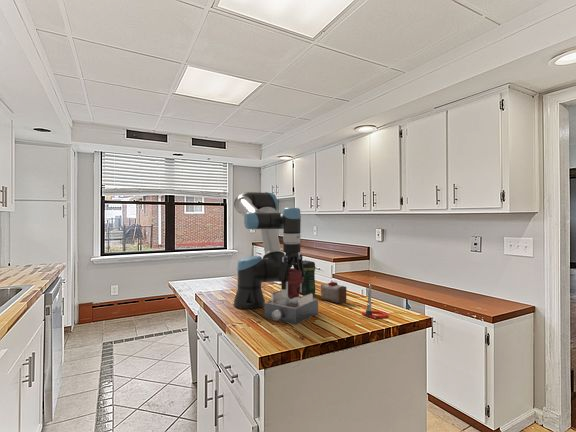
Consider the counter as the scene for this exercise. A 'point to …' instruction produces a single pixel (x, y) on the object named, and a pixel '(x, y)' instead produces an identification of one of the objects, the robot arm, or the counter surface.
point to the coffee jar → (308, 278)
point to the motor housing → (291, 308)
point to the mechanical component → (294, 283)
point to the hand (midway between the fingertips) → (291, 294)
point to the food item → (333, 292)
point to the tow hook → (368, 311)
